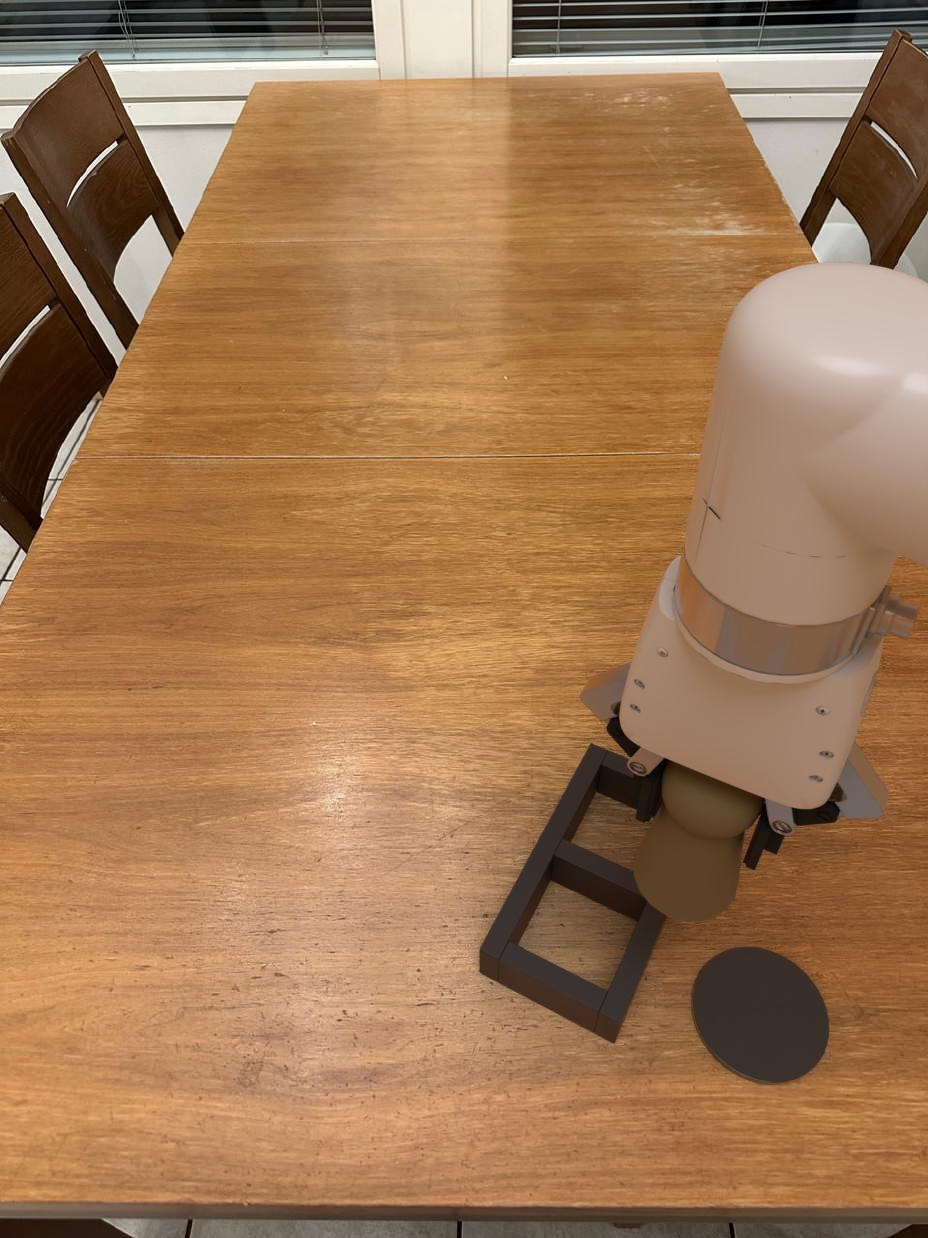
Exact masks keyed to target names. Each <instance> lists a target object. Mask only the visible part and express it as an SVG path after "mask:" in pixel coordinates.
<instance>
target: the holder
mask: <svg viewBox="0 0 928 1238" xmlns="http://www.w3.org/2000/svg"><path fill="white" fill-rule="evenodd" d="M629 759H630V758H628V757H626V756H623V755H621V754H619V753H616V752H614V751H612V750H609V749H607V748H605V747H602V746H599V745H598V744H594V743H593V742H590V744H589V746H588V747H587V749H586V751H585V753H584V754H583V756H582V758H581V760H580V763H579V764H578V766H577V767H576V770H575V771H574V773H573V775H572V777H571V779H570V780H569V782H568V784H567V786H566V788H565V790H564V792H563V794H562V795H561V797H560V799H559V801H558V802H557V805H556V806H555V808H554V810H553V812H552V814H551V816H550V817H549V820H548V821H547V823H546V825H545V826H544V828H543V830H542V832H541V833H540V836H539V838H538V840H537V842H536V843H535V845H534V846H533V849H532V851H531V852H530V854H529V856H528V858H527V860H526V862H525V864H524V866H523V868H522V869H521V871H520V873H519V875H518V877H517V878H516V880H515V882H514V884H513V886H512V887H511V890H510V892H509V893H508V895H507V897H506V899H505V900H504V902H503V905H502V906H501V908H500V910H499V912H498V914H497V916H496V918H495V919H494V921H493V922H492V925H491V927H490V928H489V930H488V932H487V933H486V936H485V938H484V939H483V942H482V944H481V945H480V947H479V952H478V953H479V961H478V962H479V973H480V974H481V975H483V976H486V977H488V978H489V979H490V980H491V979H492V980H493V981H495V982H496V983H498V984H500V985H502V986H504V987H506V988H508V989H510V990H511V991H514V993H515V992H516V993H517V994H519V995H520V996H523V997H525V998H527V999H529V1000H531V1001H533V1002H535V1003H536V1004H538V1005H540V1006H541V1007H544V1008H546V1009H547V1010H550V1011H551V1012H553V1013H555V1014H557V1015H559V1016H560V1017H563V1018H565V1019H566V1020H568V1021H570V1022H572V1023H574V1024H576V1025H578V1026H580V1027H582V1028H583V1029H586V1030H587V1031H589V1032H591V1033H594V1034H595V1035H597V1036H598V1037H601V1038H603V1039H605V1040H607V1041H608V1042H610V1043H612V1044H615V1043H616V1041H617V1038H618V1036H619V1034H620V1031H621V1029H622V1027H623V1024H624V1022H625V1019H626V1017H627V1014H628V1013H629V1010H630V1007H631V1006H632V1004H633V1003H632V1002H633V1000H634V998H635V996H636V993H637V991H638V989H639V986H640V984H641V981H642V978H643V976H644V974H645V972H646V969H647V966H648V964H649V962H650V960H651V957H652V954H653V952H654V950H655V947H656V946H657V942H658V940H659V938H660V935H661V933H662V931H663V929H664V926H665V923H666V921H667V918H668V916H666V915H664V914H663V913H661V912H660V911H659V910H657V909H656V908H654V907H653V906H651V905H650V904H649V902H648V901H647V900H646V899H645V897H644V896H643V895H642V894H641V892H640V890H639V888H638V885H637V883H636V880H635V878H634V870H632V869H629V868H628V867H625V866H623V865H621V864H619V863H616V862H614V861H612V860H610V859H609V858H605V857H604V856H601V855H599V854H597V853H595V852H592V851H590V850H588V849H586V848H585V847H581V846H580V845H577V844H575V843H573V842H572V839H573V838H574V836H575V834H576V832H577V831H578V828H579V827H580V824H581V822H582V820H583V818H584V817H585V815H586V813H587V811H588V809H589V807H590V805H591V803H592V801H593V799H594V797H595V795H596V793H599V794H601V795H604V796H606V797H609V798H610V799H613V800H614V801H617V802H620V803H622V804H624V805H626V806H629V807H631V808H633V809H636V810H637V807H638V802H639V797H638V796H636V795H633V794H631V793H630V792H631V786H632V781H633V775H634V773H633V772H632V771H630V770H629V768H628V766H627V763H628V761H629ZM662 803H663V797H662V795H661V797H660V799H659V801H658V804H657V806H656V808H655V810H654V812H653V814H652V817H654V818H655V816H656V814H657V812H658V810H659V809H660V807H661V805H662ZM551 881H552V882H554V883H556V884H558V885H560V886H563V887H564V888H566V889H569V890H571V891H573V892H574V893H577V894H579V895H581V896H583V897H586V898H587V899H590V900H592V901H593V902H596V903H597V904H599V905H602V906H604V907H606V908H608V909H611V910H612V911H615V912H616V913H619V914H621V915H623V916H625V917H627V918H628V919H631V920H632V921H636V922H637V924H636V926H635V928H634V930H633V933H632V935H631V937H630V940H629V942H628V944H627V947H626V949H625V951H624V952H623V953H624V954H623V956H622V958H621V960H620V962H619V965H618V967H617V970H616V972H615V974H614V976H613V979H612V981H611V983H610V986H609V987H608V990H607V989H604V988H602V987H600V986H598V985H597V984H595V983H592V982H591V981H589V980H587V979H585V978H583V977H581V976H579V975H577V974H576V973H573V972H571V971H569V970H567V969H565V968H564V967H561V966H559V965H557V964H555V963H553V962H551V961H549V960H548V959H545V958H543V957H541V956H540V955H538V954H536V953H534V952H532V951H530V950H527V949H526V948H524V947H522V946H520V945H519V942H520V941H521V939H522V937H523V934H524V933H525V932H526V928H527V927H528V925H529V924H530V921H531V919H532V917H533V915H534V913H535V911H536V910H537V908H538V907H539V904H540V902H541V900H542V898H543V896H544V894H545V893H546V891H547V888H548V886H549V885H550V883H551Z"/></svg>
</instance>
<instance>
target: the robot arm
mask: <svg viewBox="0 0 928 1238" xmlns="http://www.w3.org/2000/svg"><path fill="white" fill-rule="evenodd" d="M718 353H719V354H718V359H717V363H716V368H715V375H714V380H713V385H712V389H711V394H710V401H709V406H708V411H707V418H706V420H705V421H706V422H705V427H704V433H703V438H702V442H701V448H700V453H699V460H698V464H697V469H696V475H695V482H694V487H693V493H692V498H691V502H690V508H689V512H688V517H687V521H686V528H685V534H684V539H683V543H682V548H681V554H679V555H678V556H676V557H675V558H674V559H672V561H671V562H670V563H669V565H668V567H667V568H666V570H665V572H664V573H663V576H662V578H661V580H660V582H659V583H658V586H657V589H656V591H655V594H654V597H653V598H652V601H651V603H650V606H649V609H648V611H647V613H646V617H645V619H644V622H643V625H642V627H641V630H640V632H639V635H638V639H637V642H636V646H635V649H634V651H633V655H632V659H631V661H629V662H627V663H624V664H622V665H619V666H616V667H613V668H611V669H608V670H606V671H603V672H601V673H598V674H595V675H593V676H591V677H589V678H588V680H587V682H586V684H585V685H584V686H583V689H582V691H581V692H580V694H579V701H581V703H582V704H583V705H584V706H585V707H586V708H587V709H588V710H589V711H590V712H591V713H592V714H593V716H595V717H596V719H598V720H599V721H600V722H604V723H605V724H606V727H605V730H606V732H607V733H608V735H609V736H610V737H611V738H612V739H613V741H614V742H616V744H617V745H618V746H619V747H620V748H621V750H622V751H623V752H624V753H625V754H626V755H627V756H628V757H629V758H628V759H629V761H628V763H627V766H628V768H629V770H630V771H632V772H633V773H634V775H633V781H632V786H631V792H630V793H631V794H633V795H636V796H638V797H639V802H638V807H637V809H636V813H635V818H634V819H635V820H636V821H638V822H641V823H643V824H645V823H646V822H647V823H649V822H650V821H651V818H652V817H653V816H652V814H653V812H654V810H655V808H656V806H657V804H658V801H659V799H660V797H661V795H662V787H661V780H662V775H663V772H664V769H665V766H666V763H667V761H668V760H671V761H674V762H676V763H678V764H681V765H683V766H686V767H688V768H691V769H693V770H695V771H698V772H700V773H703V774H705V775H708V776H710V777H713V778H715V779H718V780H720V781H723V782H725V783H728V784H730V785H733V786H735V787H738V788H740V789H743V790H745V791H748V792H750V793H753V794H756V795H758V796H761V797H763V798H765V804H764V807H763V810H762V812H761V814H760V816H759V817H758V819H757V820H758V821H757V823H756V825H755V828H754V831H753V834H752V836H751V838H750V841H749V844H748V847H747V850H746V852H745V855H744V857H743V860H742V861H741V864H742V863H743V864H745V866H744V867H745V868H747V869H750V870H752V871H756V869H757V867H758V865H759V862H760V860H761V857H762V854H763V851H766V852H769V853H771V854H773V855H775V856H777V855H778V853H779V850H780V848H781V846H782V844H783V842H784V839H785V837H786V836H793V835H794V834H795V832H796V829H797V827H802V826H816V825H826V824H834V823H836V822H837V821H838V819H839V818H845V820H873V819H875V820H878V819H881V818H883V817H884V815H885V812H886V808H887V804H888V800H889V797H890V791H889V789H888V788H887V786H886V785H885V784H884V783H885V782H884V781H883V780H882V779H881V778H880V776H879V774H878V772H877V771H876V770H875V768H874V766H873V765H872V764H871V762H870V760H869V759H868V757H867V756H866V754H865V753H864V751H863V750H862V749H861V747H860V745H859V744H858V742H857V741H856V738H857V735H858V733H859V730H860V727H861V724H862V721H863V719H864V716H865V712H866V711H867V707H868V704H869V702H870V699H871V696H872V693H873V691H874V686H875V683H876V680H877V676H878V672H879V668H880V664H881V657H882V652H883V645H884V637H886V636H887V635H891V636H892V637H893V636H894V637H897V638H900V639H903V640H906V641H907V640H908V639H909V637H910V635H911V633H912V631H913V628H914V626H915V623H916V621H917V618H918V614H919V612H920V608H921V607H920V606H918V605H915V604H912V603H909V602H907V601H906V602H905V601H904V600H903V601H902V600H901V596H898V595H895V594H892V593H891V592H892V589H893V585H889V584H887V583H888V580H889V577H890V575H891V573H892V571H893V569H894V565H895V563H896V562H897V559H898V556H899V557H902V558H904V559H906V560H909V561H911V562H913V563H915V564H917V565H919V566H922V567H923V568H927V569H928V282H926V281H924V280H923V279H920V278H918V277H916V276H913V275H911V274H908V273H905V272H903V271H900V270H895V269H892V268H888V267H885V266H879V265H874V264H868V263H860V262H850V261H849V262H847V261H846V262H845V261H828V262H826V261H825V262H816V263H815V262H814V263H809V264H803V265H797V266H794V267H791V268H788V269H785V270H783V271H780V272H778V273H775V274H772V275H770V276H769V277H767V278H765V279H763V280H762V281H760V282H759V283H758V284H756V285H755V286H754V287H752V288H751V289H750V290H749V291H747V293H745V295H744V296H743V297H742V298H741V300H740V301H739V302H738V304H737V305H736V307H734V309H733V311H732V313H731V314H730V317H729V319H728V321H727V323H726V326H725V330H724V333H723V337H722V342H721V345H720V348H719V352H718Z"/></svg>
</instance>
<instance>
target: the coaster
mask: <svg viewBox="0 0 928 1238" xmlns="http://www.w3.org/2000/svg"><path fill="white" fill-rule="evenodd" d="M691 1011H692V1017H693V1021H694V1024H695V1028H696V1031H697V1033H698V1035H699V1037H700V1039H701V1042H702V1043H703V1044H704V1046H705V1048H706V1049H707V1050H708V1052H709V1053H710V1055H712V1056H713V1057H714V1059H715V1060H716V1061H718V1063H719V1064H721V1065H722V1066H723V1067H724V1068H726V1070H728V1071H730V1072H731V1073H733V1074H735V1075H736V1076H738V1077H739V1078H743V1079H744V1080H746V1081H749V1082H753V1083H757V1084H760V1085H770V1086H777V1085H779V1086H780V1085H785V1084H790V1083H793V1082H797V1080H800V1079H802V1078H804V1077H805V1076H807V1075H808V1074H809V1073H810V1072H811V1071H813V1070H814V1069H815V1067H817V1065H818V1064H819V1062H820V1061H821V1060H822V1058H823V1056H824V1054H825V1052H826V1050H827V1046H828V1042H829V1037H830V1019H829V1012H828V1010H827V1006H826V1003H825V1000H824V998H823V995H822V994H821V992H820V991H819V988H818V987H817V986H816V984H815V982H813V980H812V979H811V977H810V976H809V975H808V974H807V973H806V972H805V971H804V970H803V969H802V968H801V967H800V966H798V965H797V964H796V963H795V962H794V961H792V960H791V959H789V958H787V956H786V957H785V956H783V955H782V954H780V953H778V952H775V951H772V950H769V949H766V948H761V947H755V946H741V947H740V946H739V947H733V948H730V949H727V950H724V951H722V952H720V953H718V954H717V955H715V956H714V957H712V958H711V959H710V960H709V961H708V962H707V963H706V964H705V965H704V966H703V967H702V969H701V971H700V972H699V974H698V976H697V978H696V980H695V983H694V986H693V990H692V997H691Z"/></svg>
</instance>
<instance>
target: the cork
mask: <svg viewBox="0 0 928 1238" xmlns="http://www.w3.org/2000/svg"><path fill="white" fill-rule="evenodd" d="M661 787H662V797H663V803H662V805H661V807H660V809H659V810H658V812H657V814H656V816H655V817H654V818H653V819H652V822H651V823H650V825H649V827H648V829H647V831H646V832H645V834H644V836H643V838H642V840H641V841H640V843H639V845H638V847H637V849H636V852H635V856H634V859H633V862H632V863H633V864H632V865H633V871H634V878H635V880H636V883H637V885H638V888H639V890H640V892H641V894H642V895H643V896H644V897H645V899H646V900H647V901H648V902H649V904H650V905H651V906H653V907H654V908H656V909H657V910H659V911H660V912H661V913H663V914H664V915H666V916H667V917H670V918H672V919H674V920H678V921H681V922H693V923H694V922H695V923H699V922H700V923H701V922H703V921H707V920H712V919H715V918H716V917H717V916H719V915H721V914H722V913H723V912H725V911H726V910H728V908H729V907H730V906H731V904H732V902H733V901H735V899H736V895H737V891H738V887H739V882H740V880H739V879H740V873H741V866H742V857H743V851H744V845H745V843H744V842H745V837H746V836H745V834H746V831H747V830H748V829H750V828H751V827H752V826H753V825H754V824H755V823H756V821H757V820H758V819H759V817H760V815H761V812H762V810H763V807H764V804H765V798H763V797H761V796H758V795H756V794H753V793H750V792H748V791H745V790H743V789H740V788H738V787H735V786H733V785H730V784H728V783H725V782H723V781H720V780H718V779H715V778H713V777H710V776H708V775H705V774H703V773H700V772H698V771H695V770H693V769H691V768H688V767H686V766H683V765H681V764H678V763H676V762H674V761H671V760H668V761H667V763H666V766H665V769H664V772H663V775H662V780H661Z"/></svg>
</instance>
